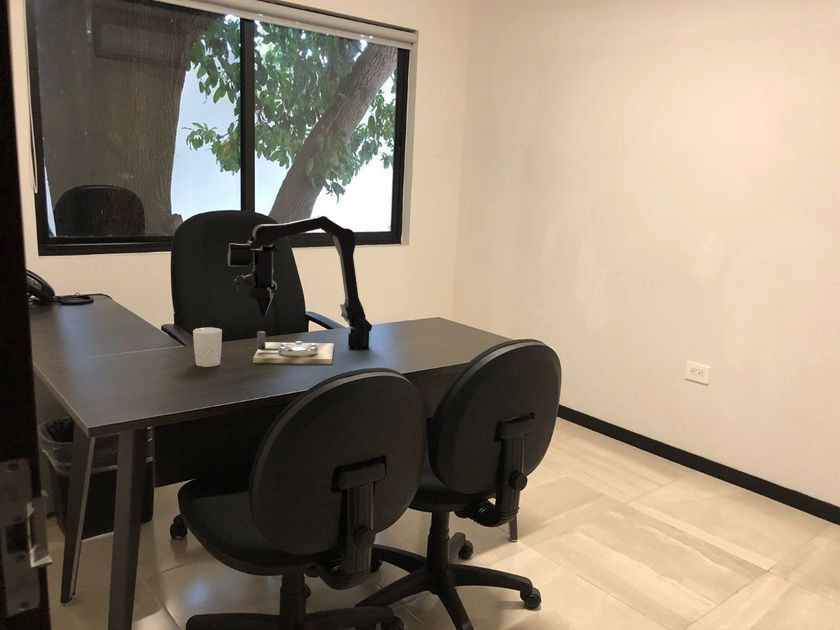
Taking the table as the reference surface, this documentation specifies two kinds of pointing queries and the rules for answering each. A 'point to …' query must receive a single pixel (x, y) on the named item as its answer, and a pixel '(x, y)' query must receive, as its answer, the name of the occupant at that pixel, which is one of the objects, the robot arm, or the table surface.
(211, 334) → the white cup
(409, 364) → the table surface
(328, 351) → the base plate
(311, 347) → the grey metal part
